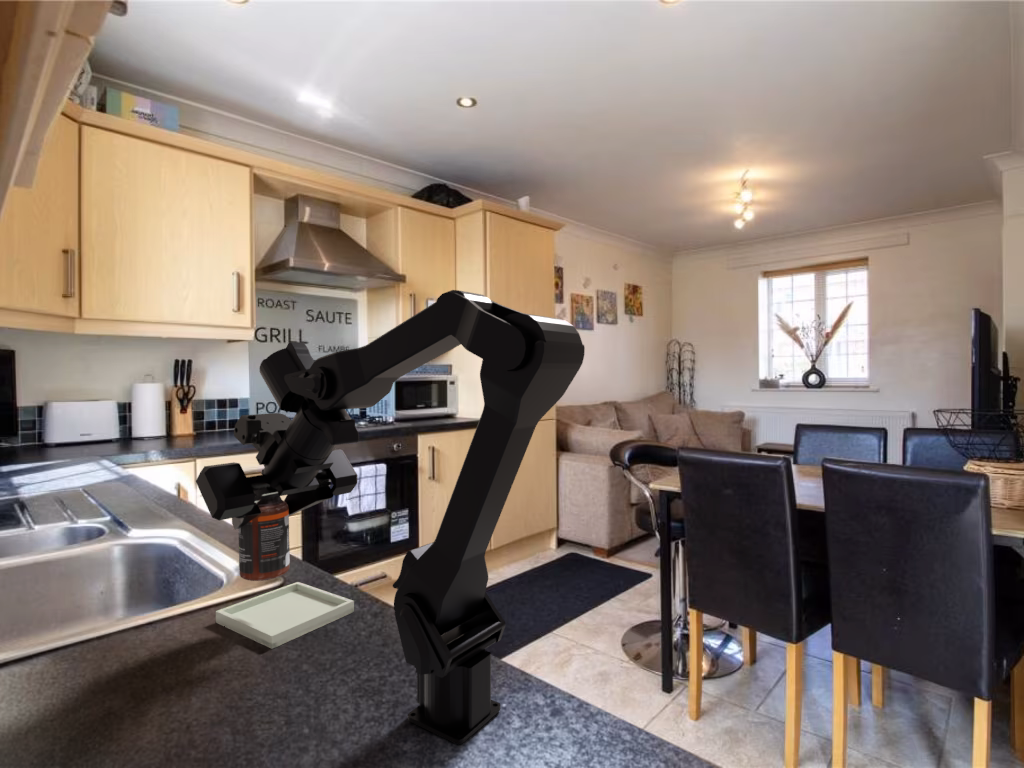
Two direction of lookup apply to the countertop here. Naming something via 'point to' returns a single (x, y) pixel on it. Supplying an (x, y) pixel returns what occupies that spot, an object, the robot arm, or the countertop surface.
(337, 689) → the countertop surface
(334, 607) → the tray
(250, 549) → the supplement bottle
